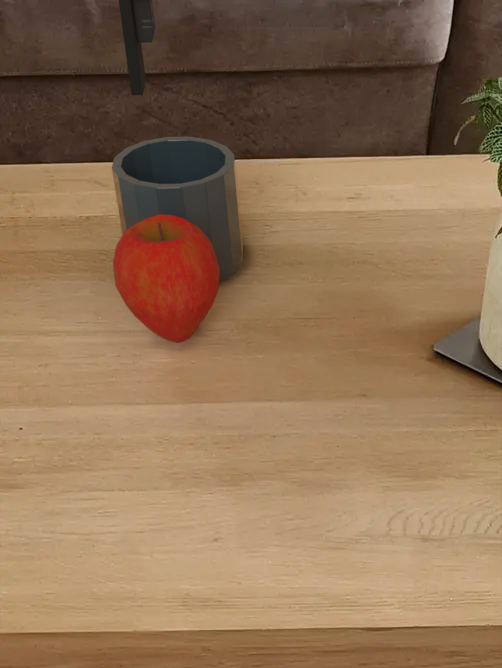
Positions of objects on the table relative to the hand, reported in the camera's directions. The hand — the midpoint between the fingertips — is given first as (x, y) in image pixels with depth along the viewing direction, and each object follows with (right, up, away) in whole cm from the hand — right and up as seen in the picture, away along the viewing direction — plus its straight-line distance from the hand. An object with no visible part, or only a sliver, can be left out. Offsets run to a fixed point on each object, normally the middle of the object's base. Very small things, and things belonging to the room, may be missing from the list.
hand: (37, 89), depth 80 cm
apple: (+5, -15, +20) cm, 25 cm away
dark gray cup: (+4, -7, +30) cm, 31 cm away
